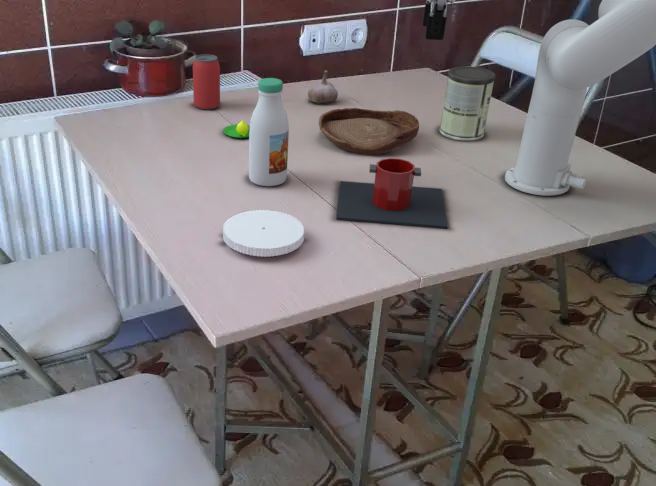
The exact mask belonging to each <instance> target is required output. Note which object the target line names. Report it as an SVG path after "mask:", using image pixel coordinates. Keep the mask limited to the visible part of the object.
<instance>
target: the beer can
mask: <svg viewBox="0 0 656 486" xmlns="http://www.w3.org/2000/svg"><path fill="white" fill-rule="evenodd" d="M193 60H194V61H193V64H192V82H193V83H192V91H193V92H192V93H193V105H194V107H195V108H197V109H199V110H206V111H207V110H214V109H217V108H219V106H220V105H221V66H220V63H219V58H218V56H217V55H215V54H209V53H208V54H207V53H205V54H198V55H196V56H194V59H193Z"/></svg>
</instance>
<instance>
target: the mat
mask: <svg viewBox="0 0 656 486" xmlns="http://www.w3.org/2000/svg"><path fill="white" fill-rule="evenodd" d="M373 190H374V183H368V182H360V181H359V182H357V181H345V180H340V181H339V191H338V200H337V211H336V220H337V221H349V222H359V223H361V222H363V223H372V224H373V223H375V224H385V225H396V226H397V225H398V226H410V227H411V226H412V227H423V228H435V229H437V228H438V229H448V220H447V214H446V208H445V201H444V196H443V189H442V188H437V187H425V186H424V187H423V186H413V187H412V193H411V200H410V206H409V207H407V208H406V209H404V210H399V211H391V210H384V209H381V208H378V207H376V206H375V205H374V204H373V203H372V198H373Z"/></svg>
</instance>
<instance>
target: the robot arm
mask: <svg viewBox="0 0 656 486" xmlns="http://www.w3.org/2000/svg"><path fill="white" fill-rule="evenodd" d="M448 2H449V3H450V4H452V5H453V4H454V3H455V2H456V0H426V3H425V5H424V11H423V18H422V26H423V27H426V28H425V29H426V30H425V36H424V37H425V40H432V41H443V40H444V36H445V31H446V25H447V11H448V10H447V9H448ZM597 15H598V19H597V20H595V21H594V22H592V23H591V24H590V25H589V24H588V23H587V22H585V21H582V20H579V19H574V18H573V19H572V18H571V19H565V20H561V21H559V22H558V23H557V22H556V24H554V25H553V26H551V27H550V28H549V29H548V31H547V32H546V33H545V35H544V36H543V38H542V41H541V42H540V46H539V50H538V56H537V61H536V62H537V64H536V70H535V77H534V81H533V88H532V93H531V96H530V97H531V98H530V102H529V106H528V109H527V115H526V117H525V123H524V127H523V131H522V137H521V141H520V145H519V150H518V153H517V158H516V162H515V166H513V167H511V168H509V169H508V170H507V171H506V172H505V175H504V180H505V182H506V183H507V185H509V186H510V187H512V188H513V189H515V190H517V191H519V192H523V193H526V194H530V195H536V196H543V197H544V196H545V197H547V196H548V197H549V196H550V197H551V196H559V195H563V194H565V193H566V192H569V189H570V187H573V188H576V189H580V190H584V188H585V186H586V184H587V179H584V175H583V174H579V173H574V172H573V171H572V170H571V168H572V164H571V163H569V161H570V156H571V152H572V148H573V144H574V140H575V137H576V133H577V130H578V126H579V122H580V119H581V115H582V113H583V109H584V104H585V100H586V96H587V91H588V88H590V87H592V86H594V85H597V84H599V83H600V82H601V81H603V80H605V79H607V78H609V77H610V76H611V75H613V74H615V73H616V72H618V71H619V70H621V69H622V68H623V67H625V66H627V65H629V64H630V63H631V62H633V61H634V60H636V59H638V58H639V57H641V56H643V55H644V54H645V53H646V52H648V51H649V50H651V49H652V48H654V47H655V46H656V0H601V2H600V3H599V6H598V12H597Z"/></svg>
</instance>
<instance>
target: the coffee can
mask: <svg viewBox="0 0 656 486" xmlns="http://www.w3.org/2000/svg"><path fill="white" fill-rule="evenodd" d="M447 71H448V72H447V75H448V76H447V83H446V88H445V93H444V94H445V95H444V102H443V108H442V113H441V119H440V127H439V130H438V131H439V133H440V134H441V135H442V136H444V137H446V138H447V139H452V140H456V141H465V142H467V141H468V142H470V141H471V142H472V141H477V140H481V139H482V138H484V136H485V130H486V124H487V120H488V114H489V110H490V109H489V108H490V103H491V98H492V93H493V87H494V82H495V79H496V76H497V75H496V73H495V72H494V71H492V70H490V69H488V68H483V67H479V66H470V65H469V66H468V65H464V66H463V65H461V66H454V67H452V68H450V69H449V70H447Z"/></svg>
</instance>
